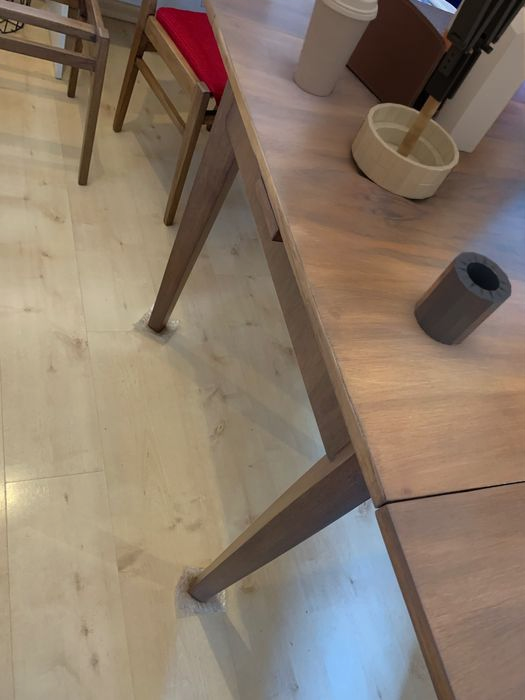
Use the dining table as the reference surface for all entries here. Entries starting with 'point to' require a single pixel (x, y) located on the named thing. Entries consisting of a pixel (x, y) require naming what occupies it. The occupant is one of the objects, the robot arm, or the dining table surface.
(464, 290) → the crock
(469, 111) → the milk
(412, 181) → the bowl
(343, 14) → the coffee cup
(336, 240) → the dining table surface
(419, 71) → the letter holder
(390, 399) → the dining table surface
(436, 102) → the stick
